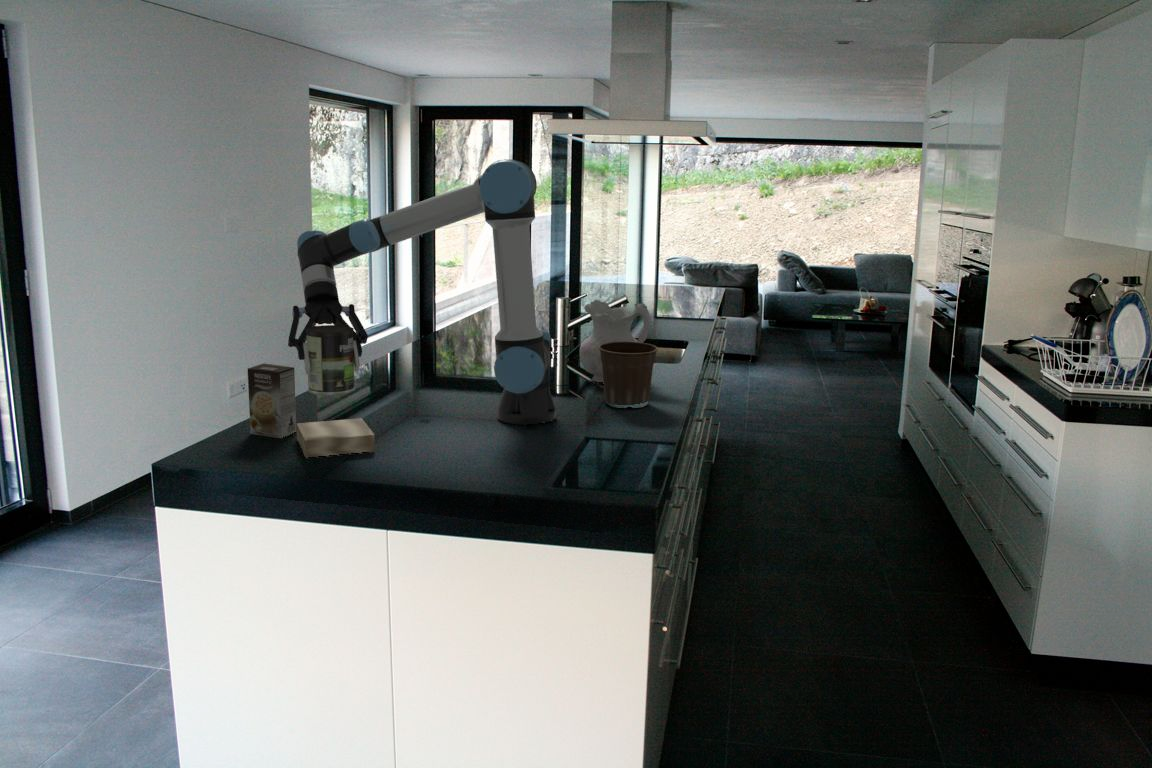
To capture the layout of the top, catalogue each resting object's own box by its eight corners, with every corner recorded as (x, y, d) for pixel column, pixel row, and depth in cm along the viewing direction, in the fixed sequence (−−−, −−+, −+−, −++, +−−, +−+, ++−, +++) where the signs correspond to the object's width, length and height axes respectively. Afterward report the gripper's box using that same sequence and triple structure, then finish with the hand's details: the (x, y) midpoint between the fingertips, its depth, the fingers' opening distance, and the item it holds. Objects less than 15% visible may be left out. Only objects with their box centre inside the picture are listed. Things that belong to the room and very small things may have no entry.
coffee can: (362, 386, 217) (361, 326, 214) (342, 397, 208) (341, 333, 204) (320, 383, 219) (318, 323, 216) (299, 393, 209) (297, 330, 206)
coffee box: (248, 434, 224) (245, 368, 220) (266, 427, 229) (262, 363, 226) (281, 439, 221) (278, 371, 217) (298, 432, 227) (295, 366, 223)
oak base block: (362, 434, 226) (361, 418, 225) (374, 451, 212) (374, 434, 211) (297, 440, 220) (296, 423, 219) (305, 458, 207) (305, 440, 206)
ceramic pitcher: (653, 381, 295) (657, 301, 291) (644, 390, 276) (648, 304, 272) (586, 376, 300) (589, 297, 296) (571, 385, 281) (574, 301, 277)
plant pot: (639, 414, 250) (641, 355, 246) (586, 406, 258) (587, 348, 254) (665, 402, 264) (667, 345, 260) (613, 394, 272) (615, 339, 268)
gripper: (367, 297, 227) (381, 375, 217) (268, 300, 219) (279, 381, 208) (371, 278, 221) (386, 357, 211) (269, 280, 213) (280, 362, 202)
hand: (333, 369), depth 209 cm, fingers closed on coffee can, 10 cm apart
